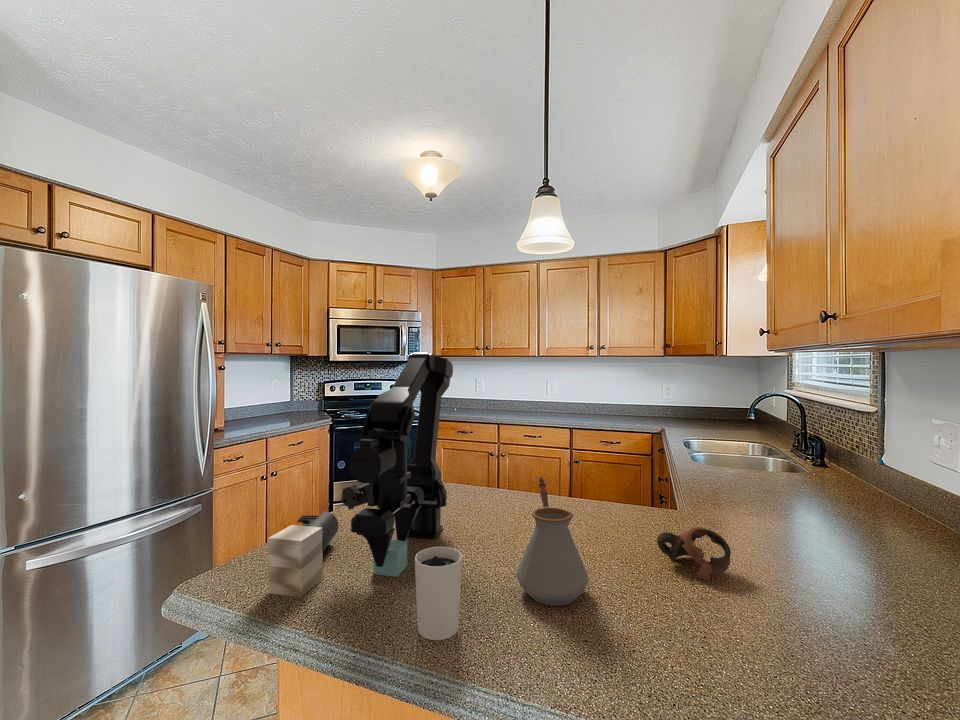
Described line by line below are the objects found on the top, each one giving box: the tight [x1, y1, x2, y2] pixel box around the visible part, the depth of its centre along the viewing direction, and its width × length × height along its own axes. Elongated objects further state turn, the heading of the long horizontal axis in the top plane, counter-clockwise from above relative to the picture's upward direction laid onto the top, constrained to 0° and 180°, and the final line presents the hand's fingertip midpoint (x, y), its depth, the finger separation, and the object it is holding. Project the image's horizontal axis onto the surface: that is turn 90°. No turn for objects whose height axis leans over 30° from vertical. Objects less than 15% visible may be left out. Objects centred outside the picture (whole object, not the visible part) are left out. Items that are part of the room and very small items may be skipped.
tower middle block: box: [267, 524, 323, 569], centre depth 74 cm, size 6×6×4 cm
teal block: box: [373, 539, 408, 578], centre depth 80 cm, size 4×4×4 cm
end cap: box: [297, 510, 339, 553], centre depth 87 cm, size 10×7×7 cm
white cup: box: [414, 546, 463, 641], centre depth 63 cm, size 7×7×10 cm
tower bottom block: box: [267, 553, 324, 598], centre depth 74 cm, size 6×6×4 cm
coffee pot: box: [516, 476, 589, 606], centre depth 77 cm, size 21×12×15 cm, turn 179°
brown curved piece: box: [656, 526, 732, 581], centre depth 81 cm, size 12×10×8 cm
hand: (390, 555), depth 80 cm, fingers open, 9 cm apart
